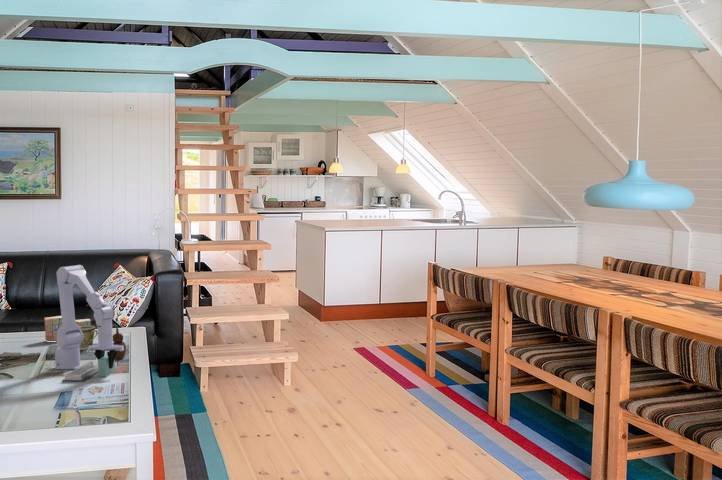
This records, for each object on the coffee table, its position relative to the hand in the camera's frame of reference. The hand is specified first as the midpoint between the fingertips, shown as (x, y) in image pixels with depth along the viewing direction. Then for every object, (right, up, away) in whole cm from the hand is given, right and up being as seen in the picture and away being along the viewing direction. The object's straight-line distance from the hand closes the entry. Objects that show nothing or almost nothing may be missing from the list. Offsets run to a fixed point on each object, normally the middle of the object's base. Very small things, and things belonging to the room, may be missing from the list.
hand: (106, 367), depth 299 cm
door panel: (0, -2, 0) cm, 2 cm away
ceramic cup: (-26, +1, +48) cm, 54 cm away
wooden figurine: (-4, -1, +27) cm, 27 cm away
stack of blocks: (-44, +2, +69) cm, 82 cm away
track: (-9, -3, 0) cm, 9 cm away
